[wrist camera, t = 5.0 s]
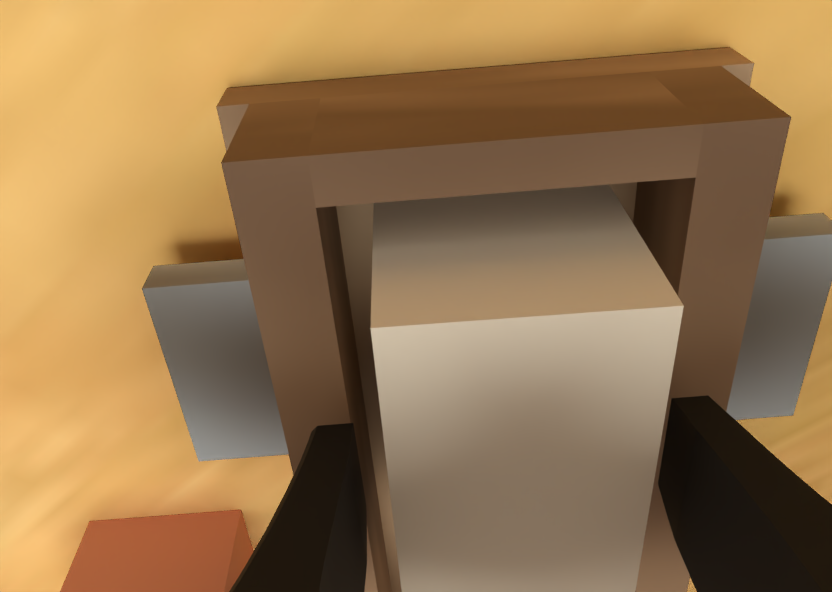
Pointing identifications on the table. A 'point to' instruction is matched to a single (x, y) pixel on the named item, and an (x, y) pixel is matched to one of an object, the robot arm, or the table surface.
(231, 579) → the block
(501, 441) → the cream rectangular block
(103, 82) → the table surface
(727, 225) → the jig
